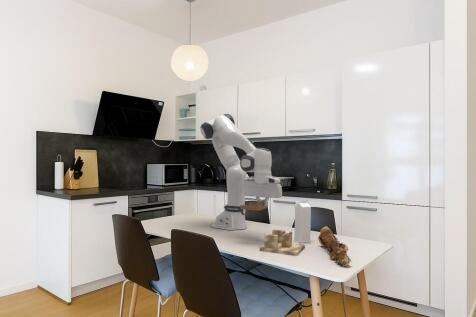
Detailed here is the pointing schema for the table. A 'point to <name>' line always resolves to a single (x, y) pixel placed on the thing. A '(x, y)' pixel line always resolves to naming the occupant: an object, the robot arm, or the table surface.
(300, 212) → the milk
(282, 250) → the stand
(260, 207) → the brown u-shaped block
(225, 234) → the table surface
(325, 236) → the sculpture
